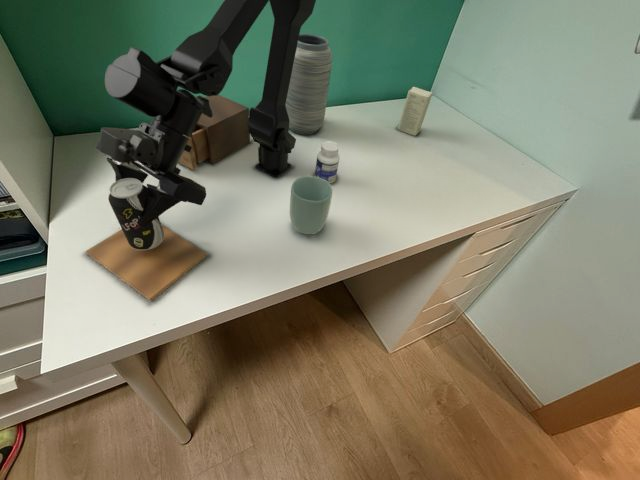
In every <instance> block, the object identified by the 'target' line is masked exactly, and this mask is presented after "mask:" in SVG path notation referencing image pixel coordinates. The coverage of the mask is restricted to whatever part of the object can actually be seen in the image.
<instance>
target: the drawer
mask: <svg viewBox="0 0 640 480" xmlns="http://www.w3.org/2000/svg"><path fill="white" fill-rule="evenodd" d="M184 136H185V135H184ZM186 137H187V136H186ZM188 138H189V137H188ZM187 144H188V145H189V146H191V147H192V149H191V151H190V153H189V152H187V151H185V150H184V151H183V153H182V156H181V158H180V160H179V162H178V164H181V165H183V166H184V167H186V168H188V169H190V170H192V171H194V170H196V169H197V168H198V165H197V163H198V164H200V163H202V162H204V161H205V160H206V159H208V158H209V150H208V143H207V136H206V129H204V128H201V127H199V126H197V125H196V127H195V129H194V131H193V133H192V135H191V137H190V139H189V141H188V143H187Z"/></svg>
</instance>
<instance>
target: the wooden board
mask: <svg viewBox="0 0 640 480" xmlns="http://www.w3.org/2000/svg"><path fill="white" fill-rule="evenodd" d="M161 226H162V229H163V232H164V239H163V241H162V242H161V243H160V244H159V245H158V246H157V247H155V248H153V249H149V250H136V249H134V248H132V247H131V246H130V245H129V243H128V241H127V239H126V237H125V234H124V232H123V230H122V229H119V230H118V231H117V232H115V233H113V234H112V235H110V236H108V237H107V238H105V239H104V240H102V241H100V242H99V243H97V244H95V245H93V246H92V247H90V248H89V249H87V250H85V254H86V255H87V256H89V257H90V258H91V259H92V260H94V261H95V262H97V264H99V265H100V266H102V267H103V268H104V269H106V270H107V271H109V272H110V273H111V274H112V275H114V276H116V277H117V278H118V279H119V280H121V282H123V283H125V284H126V285H128V286H129V287H131V289H133V290H134V291H136V292H137V293H138V294H140V295H141V296H142V297H143V298H145V299H146V300H148V301H149V302H153V301H154V300H155V299H156V298H157V297H159V296H160V295H161V294H162V293H164V292H165V291H166V290H167V289H168V288H170V287H171V286H172V285H173V284H175V283H176V282H177V281H178V280H179V279H181V278H182V277H183V276H184V275H186V274H187V273H188V272H189V271H191V270H193V268H194V267H195V266H197V265H198V264H199V263H200V262H202V261H203V260H204V259H205V258H206V257H208V254H207V253H206V251H203V250H202V249H201V248H198V247H197V246H196V245H194V244H192V243H191V242H189V241H188V240H186V239H184V238H183V237H181V236H180V235H178V234H177V233H175V232H173V231H172V230H170V229H168V228H167V227H165V225H162V224H161Z"/></svg>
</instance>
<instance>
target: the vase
mask: <svg viewBox="0 0 640 480" xmlns="http://www.w3.org/2000/svg"><path fill="white" fill-rule="evenodd" d="M329 45H330V44H329V40H328V39H327V38H325V37H324V36H321V35H317V34H313V33H312V34H311V33H299V38H298V43H297V48H296V53H295V59H294V64H293V69H292V74H291V79H290V84H289V89H288V94H287V99H286V105H285V106H286V110H287V113H288V117H289V120H290V122H289V130H291V131H292V132H294V133H296V134H299V135H312V134H315V133H316V132H317V131H318V130H319V129H321V128H322V126H323V125H324V122H325V119H326V117H325V116H326V110H327V103H328V94H329V87H330V81H331V73H332V67H333V60H334V59H333V51H332V50H331V48H330V47H329Z"/></svg>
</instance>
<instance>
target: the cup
mask: <svg viewBox="0 0 640 480" xmlns="http://www.w3.org/2000/svg"><path fill="white" fill-rule="evenodd" d="M289 197H290V198H289V219H290V223H291V225H292V227H293V228H294V229H295V231H297V232H298V233H300V234H304V235H315V234H318V233H319V232H320V231H321V230H322V229H323V228H324V226H325V224H326V222H327V220H328V217H329V213H330V208H331V204H332V198H333V187H332V184H331V183H329V182H327V181H326V180H324V179H322V178H319V177H315V175H303V176H300V177H298V178H296V179H295V180H293V182H292V184H291V187H290V196H289Z"/></svg>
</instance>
